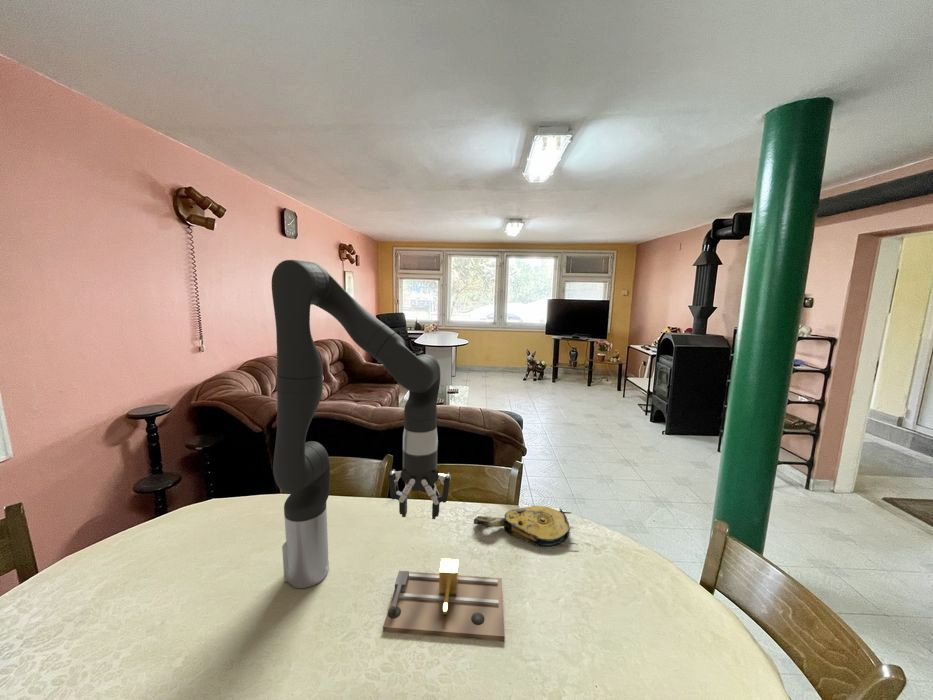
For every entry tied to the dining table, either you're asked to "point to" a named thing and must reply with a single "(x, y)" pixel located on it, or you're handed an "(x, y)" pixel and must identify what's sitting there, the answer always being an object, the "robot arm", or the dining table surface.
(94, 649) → the dining table surface
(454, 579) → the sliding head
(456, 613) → the gauge board
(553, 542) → the pulley block
